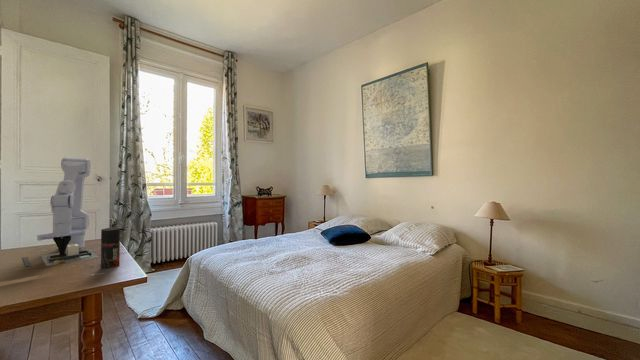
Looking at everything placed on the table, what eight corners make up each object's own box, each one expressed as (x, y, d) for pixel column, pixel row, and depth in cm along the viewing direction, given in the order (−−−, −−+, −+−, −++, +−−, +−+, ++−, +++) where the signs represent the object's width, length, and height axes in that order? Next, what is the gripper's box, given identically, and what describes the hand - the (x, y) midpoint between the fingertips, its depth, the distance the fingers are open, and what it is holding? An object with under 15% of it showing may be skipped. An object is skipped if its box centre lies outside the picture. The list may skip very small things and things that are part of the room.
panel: (40, 258, 117) (40, 253, 117) (88, 250, 129) (88, 246, 129) (46, 269, 104) (46, 263, 104) (99, 259, 117) (99, 255, 116)
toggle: (66, 255, 117) (66, 244, 117) (77, 254, 120) (77, 243, 120) (67, 257, 115) (68, 246, 115) (78, 255, 118) (78, 244, 117)
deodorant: (111, 269, 106) (112, 230, 106) (96, 268, 106) (97, 230, 106) (123, 264, 112) (123, 227, 112) (108, 263, 112) (109, 227, 112)
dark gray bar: (22, 260, 113) (22, 257, 113) (27, 260, 114) (27, 256, 114) (25, 270, 103) (25, 266, 103) (30, 269, 104) (30, 265, 104)
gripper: (38, 226, 107) (38, 260, 107) (86, 221, 118) (86, 253, 118) (36, 223, 111) (36, 256, 111) (83, 219, 122) (82, 249, 122)
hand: (61, 254), depth 115 cm, fingers closed
